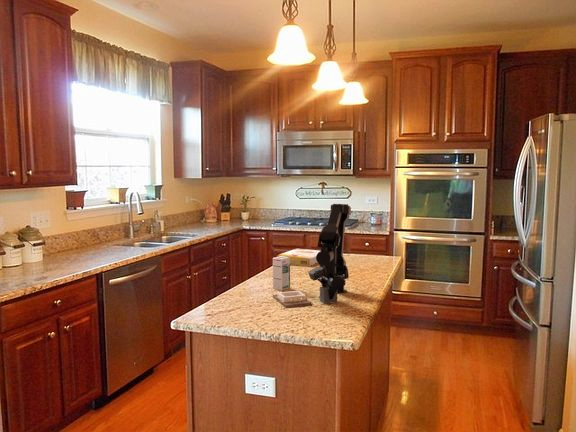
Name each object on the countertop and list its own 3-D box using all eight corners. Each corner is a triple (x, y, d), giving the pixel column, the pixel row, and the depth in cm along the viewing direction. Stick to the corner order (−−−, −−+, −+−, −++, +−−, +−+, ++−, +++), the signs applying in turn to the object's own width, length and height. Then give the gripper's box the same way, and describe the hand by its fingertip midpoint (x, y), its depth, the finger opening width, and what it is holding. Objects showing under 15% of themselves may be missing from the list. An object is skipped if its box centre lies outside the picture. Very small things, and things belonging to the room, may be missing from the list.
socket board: (272, 297, 198) (272, 290, 198) (296, 295, 202) (296, 288, 202) (285, 307, 183) (285, 300, 183) (311, 305, 187) (311, 297, 187)
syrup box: (281, 290, 209) (281, 258, 208) (272, 288, 213) (272, 257, 212) (290, 288, 213) (290, 257, 212) (281, 286, 217) (281, 255, 216)
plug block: (319, 301, 193) (320, 286, 192) (333, 299, 195) (333, 285, 194) (323, 303, 189) (324, 289, 188) (337, 302, 191) (337, 288, 190)
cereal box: (277, 254, 269) (295, 247, 294) (277, 264, 269) (295, 256, 295) (310, 258, 261) (326, 250, 286) (309, 267, 261) (326, 259, 287)
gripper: (302, 257, 196) (301, 294, 198) (320, 266, 179) (320, 306, 180) (326, 256, 200) (325, 291, 201) (346, 264, 182) (345, 303, 184)
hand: (328, 298), depth 192 cm, fingers closed on plug block, 4 cm apart
